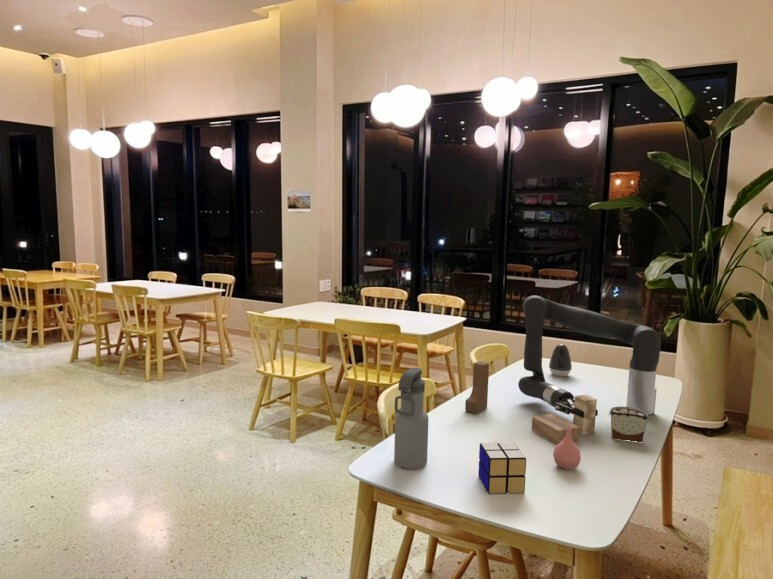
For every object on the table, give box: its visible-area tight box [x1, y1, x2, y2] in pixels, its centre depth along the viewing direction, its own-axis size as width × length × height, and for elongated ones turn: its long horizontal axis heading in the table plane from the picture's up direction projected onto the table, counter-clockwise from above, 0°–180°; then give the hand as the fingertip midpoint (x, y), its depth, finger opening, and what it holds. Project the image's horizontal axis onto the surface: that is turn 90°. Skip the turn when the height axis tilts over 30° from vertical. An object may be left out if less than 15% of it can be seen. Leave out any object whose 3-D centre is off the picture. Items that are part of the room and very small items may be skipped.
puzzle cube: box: [477, 441, 527, 494], centre depth 139 cm, size 10×10×10 cm
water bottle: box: [393, 367, 429, 470], centre depth 149 cm, size 10×10×28 cm
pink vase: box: [552, 427, 582, 470], centre depth 149 cm, size 8×8×12 cm
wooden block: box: [464, 360, 490, 414], centre depth 195 cm, size 9×4×18 cm, turn 138°
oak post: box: [572, 394, 598, 435], centre depth 177 cm, size 5×5×12 cm
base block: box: [531, 413, 580, 445], centre depth 173 cm, size 9×13×5 cm
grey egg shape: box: [548, 343, 573, 378], centre depth 244 cm, size 10×10×15 cm
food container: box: [608, 405, 651, 443], centre depth 172 cm, size 12×6×10 cm, turn 71°
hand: (590, 414), depth 174 cm, fingers closed on oak post, 5 cm apart
